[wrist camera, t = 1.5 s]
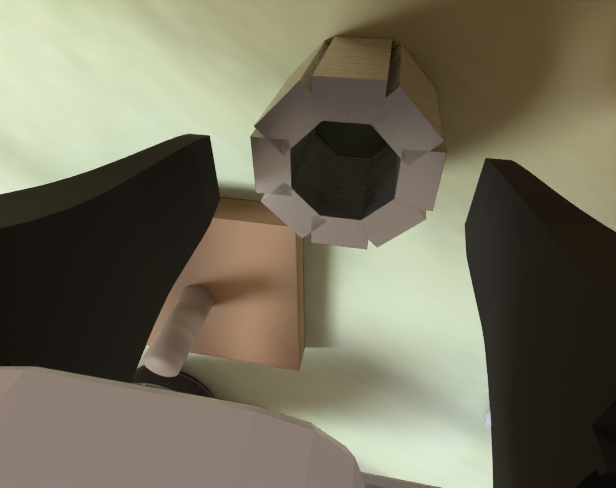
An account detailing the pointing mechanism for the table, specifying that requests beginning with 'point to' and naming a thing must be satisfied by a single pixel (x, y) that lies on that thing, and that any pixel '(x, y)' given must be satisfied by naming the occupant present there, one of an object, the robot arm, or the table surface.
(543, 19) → the table surface
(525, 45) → the table surface
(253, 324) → the shaft stand
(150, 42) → the table surface
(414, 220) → the ring
